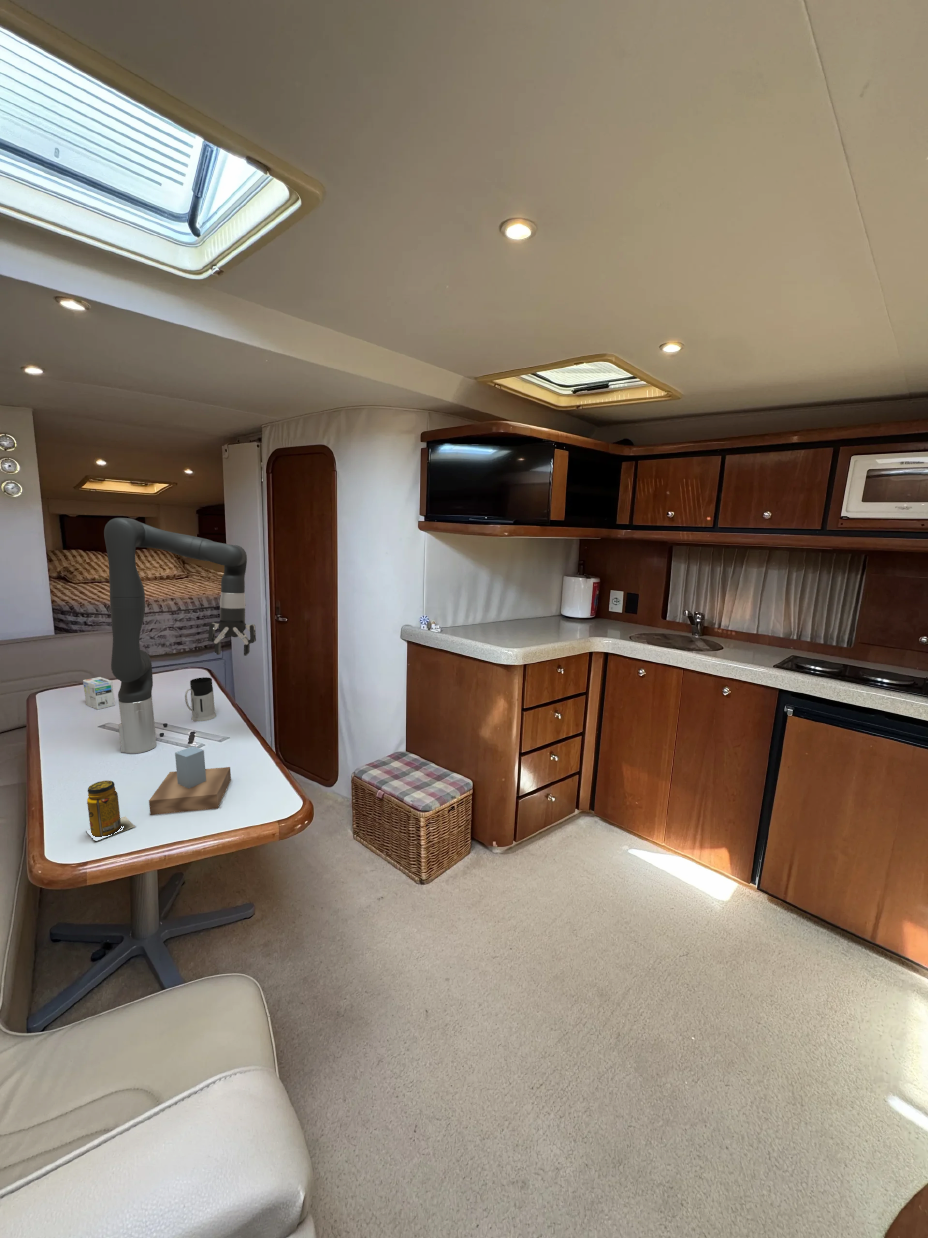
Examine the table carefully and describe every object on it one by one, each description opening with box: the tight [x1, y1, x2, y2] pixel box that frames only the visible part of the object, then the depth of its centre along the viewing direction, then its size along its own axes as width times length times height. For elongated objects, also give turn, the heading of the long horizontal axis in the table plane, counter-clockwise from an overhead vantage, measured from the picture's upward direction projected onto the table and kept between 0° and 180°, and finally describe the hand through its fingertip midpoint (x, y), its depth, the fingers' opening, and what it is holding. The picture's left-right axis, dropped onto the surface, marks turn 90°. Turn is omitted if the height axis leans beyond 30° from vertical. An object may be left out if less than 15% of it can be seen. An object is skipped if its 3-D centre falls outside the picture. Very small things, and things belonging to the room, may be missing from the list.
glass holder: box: [184, 676, 217, 722], centre depth 195 cm, size 9×14×15 cm, turn 174°
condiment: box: [86, 780, 136, 837], centre depth 124 cm, size 7×8×12 cm
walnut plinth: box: [148, 766, 232, 816], centre depth 140 cm, size 16×16×4 cm
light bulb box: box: [82, 676, 116, 710], centre depth 209 cm, size 11×7×11 cm, turn 58°
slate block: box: [174, 745, 206, 788], centre depth 139 cm, size 5×5×9 cm
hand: (232, 654), depth 169 cm, fingers open, 8 cm apart
